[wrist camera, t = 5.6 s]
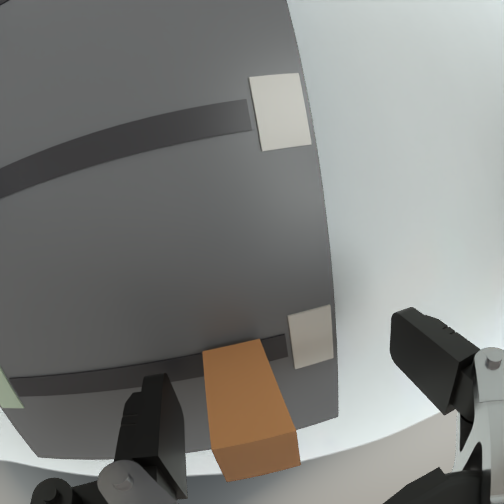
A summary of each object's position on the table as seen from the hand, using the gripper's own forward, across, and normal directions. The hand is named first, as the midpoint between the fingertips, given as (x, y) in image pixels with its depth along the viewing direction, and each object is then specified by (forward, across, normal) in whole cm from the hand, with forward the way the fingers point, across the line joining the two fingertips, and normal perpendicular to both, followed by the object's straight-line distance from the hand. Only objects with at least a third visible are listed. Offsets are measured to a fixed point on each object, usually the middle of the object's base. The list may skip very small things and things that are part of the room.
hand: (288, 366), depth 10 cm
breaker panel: (+4, +6, -8) cm, 11 cm away
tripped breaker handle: (+1, +2, 0) cm, 2 cm away
